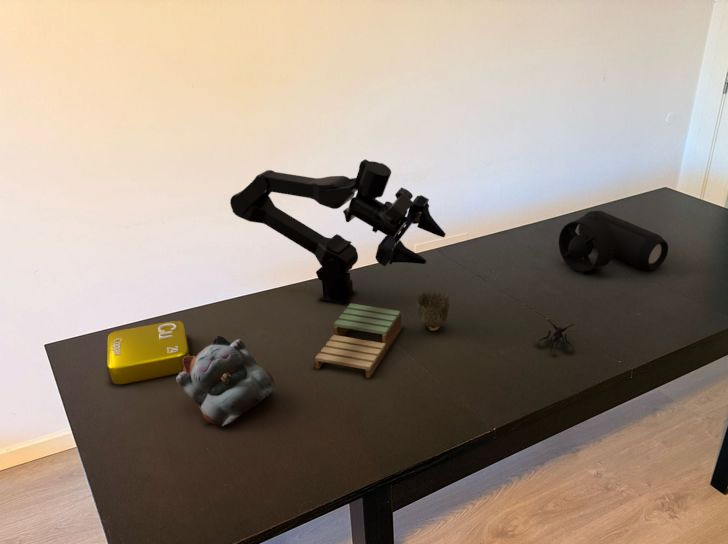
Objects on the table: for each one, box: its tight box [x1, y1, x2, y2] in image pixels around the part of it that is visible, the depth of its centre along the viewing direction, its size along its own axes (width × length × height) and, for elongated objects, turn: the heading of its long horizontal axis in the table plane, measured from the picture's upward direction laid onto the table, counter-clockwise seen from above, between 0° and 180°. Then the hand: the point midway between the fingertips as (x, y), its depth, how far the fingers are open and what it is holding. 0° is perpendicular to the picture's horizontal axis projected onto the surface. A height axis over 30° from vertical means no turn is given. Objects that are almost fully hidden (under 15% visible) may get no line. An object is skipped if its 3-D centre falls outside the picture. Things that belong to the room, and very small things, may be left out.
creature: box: [537, 318, 575, 354], centre depth 143 cm, size 8×5×8 cm
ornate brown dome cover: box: [416, 290, 451, 333], centre depth 147 cm, size 8×7×8 cm
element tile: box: [106, 320, 191, 385], centre depth 135 cm, size 15×15×5 cm
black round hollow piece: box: [558, 214, 616, 274], centre depth 173 cm, size 14×14×10 cm
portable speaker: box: [578, 210, 669, 271], centre depth 182 cm, size 26×10×10 cm, turn 36°
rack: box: [314, 303, 402, 379], centre depth 141 cm, size 12×20×5 cm, turn 165°
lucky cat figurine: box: [175, 335, 275, 427], centre depth 122 cm, size 15×12×14 cm
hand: (435, 248), depth 145 cm, fingers open, 9 cm apart
